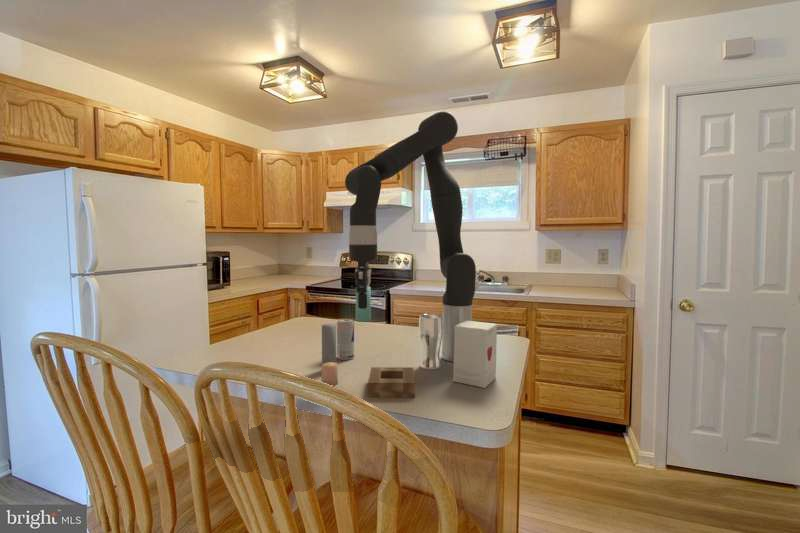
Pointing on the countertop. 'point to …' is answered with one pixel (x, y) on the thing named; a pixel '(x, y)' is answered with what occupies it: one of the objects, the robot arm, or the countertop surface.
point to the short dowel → (330, 373)
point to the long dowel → (328, 343)
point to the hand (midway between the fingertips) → (363, 306)
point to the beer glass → (430, 340)
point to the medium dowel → (364, 314)
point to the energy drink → (345, 339)
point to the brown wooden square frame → (391, 382)
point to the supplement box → (475, 353)
